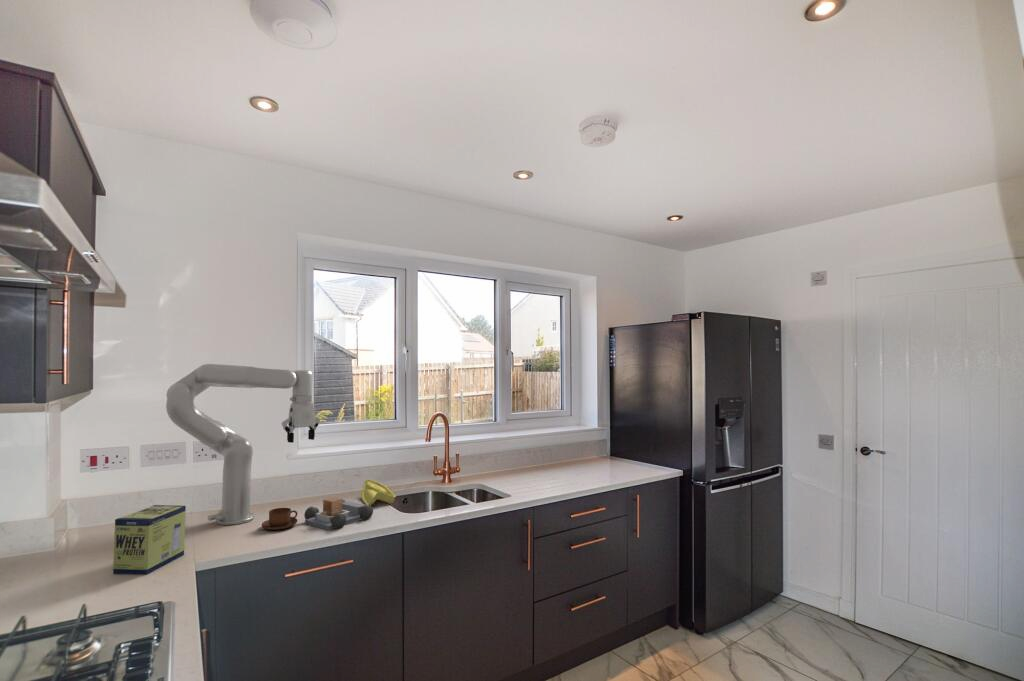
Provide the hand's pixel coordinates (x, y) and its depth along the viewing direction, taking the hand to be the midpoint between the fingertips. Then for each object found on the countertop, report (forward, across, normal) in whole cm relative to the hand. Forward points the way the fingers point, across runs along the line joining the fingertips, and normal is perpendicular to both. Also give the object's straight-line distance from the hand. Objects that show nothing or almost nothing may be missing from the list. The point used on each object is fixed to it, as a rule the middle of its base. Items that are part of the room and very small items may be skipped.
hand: (301, 440), depth 208 cm
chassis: (+28, 0, -25) cm, 38 cm away
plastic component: (+29, +28, -15) cm, 43 cm away
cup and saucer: (+29, -18, -14) cm, 36 cm away
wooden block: (+27, -3, -25) cm, 37 cm away
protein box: (+29, -59, -13) cm, 67 cm away
